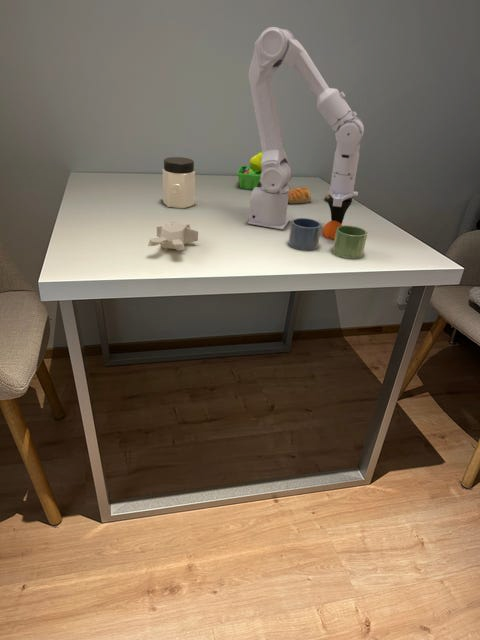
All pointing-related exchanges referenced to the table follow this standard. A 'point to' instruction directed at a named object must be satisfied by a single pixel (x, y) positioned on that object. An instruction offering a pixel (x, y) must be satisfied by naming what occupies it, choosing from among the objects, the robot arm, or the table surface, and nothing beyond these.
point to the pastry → (299, 195)
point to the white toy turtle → (174, 236)
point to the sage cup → (349, 242)
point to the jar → (178, 182)
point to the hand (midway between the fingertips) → (336, 226)
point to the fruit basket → (251, 173)
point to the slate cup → (304, 234)
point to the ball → (331, 229)
